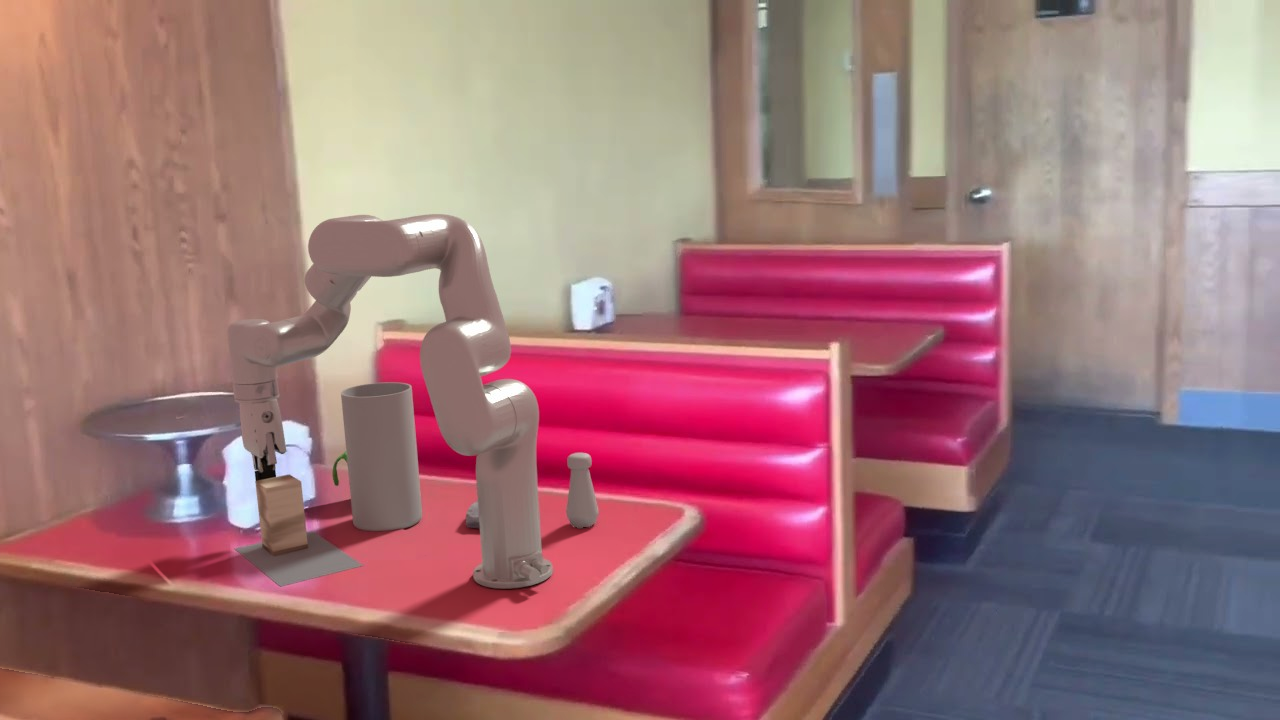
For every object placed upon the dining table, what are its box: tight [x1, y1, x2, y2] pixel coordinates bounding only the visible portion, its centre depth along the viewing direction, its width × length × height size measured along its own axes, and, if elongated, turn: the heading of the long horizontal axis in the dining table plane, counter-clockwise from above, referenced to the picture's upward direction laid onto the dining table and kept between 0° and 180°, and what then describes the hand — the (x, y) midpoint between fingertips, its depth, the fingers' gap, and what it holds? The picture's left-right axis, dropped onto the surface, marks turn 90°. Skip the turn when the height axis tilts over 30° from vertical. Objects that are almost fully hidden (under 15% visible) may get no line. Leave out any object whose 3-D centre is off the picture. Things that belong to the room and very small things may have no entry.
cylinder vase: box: [340, 381, 423, 532], centre depth 225 cm, size 12×12×25 cm
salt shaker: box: [565, 452, 600, 529], centre depth 219 cm, size 6×6×13 cm
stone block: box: [465, 499, 480, 529], centre depth 224 cm, size 12×5×10 cm
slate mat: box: [234, 530, 364, 587], centre depth 209 cm, size 24×14×1 cm, turn 35°
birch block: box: [254, 474, 308, 556], centre depth 213 cm, size 6×6×12 cm
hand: (267, 491), depth 218 cm, fingers closed
